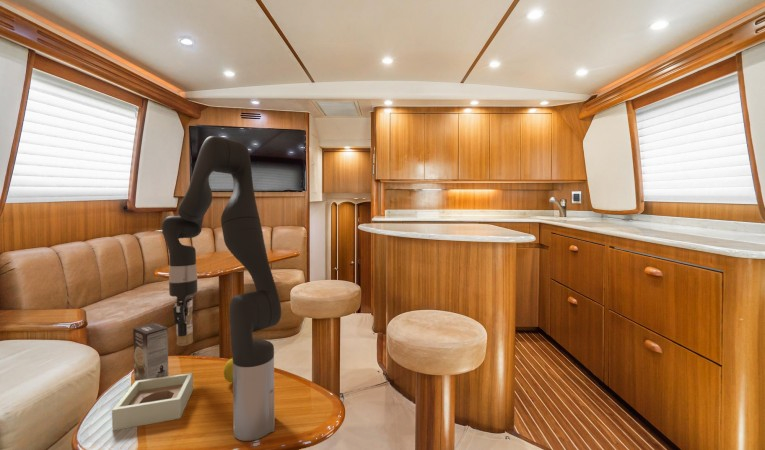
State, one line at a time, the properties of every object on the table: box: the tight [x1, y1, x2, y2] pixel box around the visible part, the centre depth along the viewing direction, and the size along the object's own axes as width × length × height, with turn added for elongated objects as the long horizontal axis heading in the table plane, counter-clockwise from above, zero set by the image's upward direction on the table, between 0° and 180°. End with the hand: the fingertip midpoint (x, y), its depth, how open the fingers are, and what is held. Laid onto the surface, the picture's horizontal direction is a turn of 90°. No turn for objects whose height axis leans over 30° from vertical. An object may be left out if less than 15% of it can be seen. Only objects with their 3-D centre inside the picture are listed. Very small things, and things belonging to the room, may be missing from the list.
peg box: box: [111, 372, 194, 431], centre depth 84 cm, size 14×14×5 cm
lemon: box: [223, 357, 233, 384], centre depth 97 cm, size 6×6×8 cm
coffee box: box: [132, 321, 169, 381], centre depth 100 cm, size 9×6×16 cm
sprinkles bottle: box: [175, 300, 194, 347], centre depth 100 cm, size 5×5×14 cm
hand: (184, 332), depth 100 cm, fingers closed on sprinkles bottle, 4 cm apart
